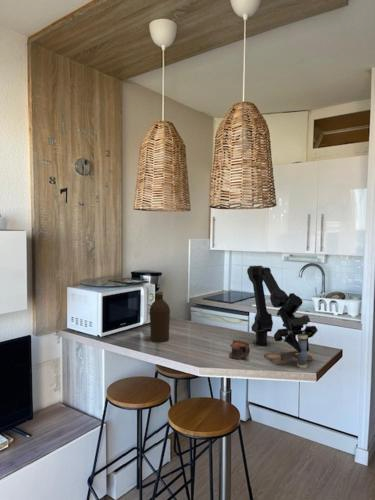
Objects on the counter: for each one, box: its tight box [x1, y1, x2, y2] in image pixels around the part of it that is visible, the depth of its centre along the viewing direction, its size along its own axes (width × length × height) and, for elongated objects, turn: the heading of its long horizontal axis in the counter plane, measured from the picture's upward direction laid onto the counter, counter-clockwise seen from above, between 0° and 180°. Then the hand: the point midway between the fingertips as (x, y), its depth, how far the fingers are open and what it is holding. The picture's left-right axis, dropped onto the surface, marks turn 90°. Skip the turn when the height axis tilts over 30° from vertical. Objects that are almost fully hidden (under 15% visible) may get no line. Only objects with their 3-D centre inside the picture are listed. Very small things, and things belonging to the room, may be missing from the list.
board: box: [263, 349, 313, 365], centre depth 162 cm, size 10×18×4 cm, turn 109°
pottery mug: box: [228, 339, 251, 361], centre depth 164 cm, size 12×9×8 cm
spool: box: [296, 334, 309, 369], centre depth 152 cm, size 4×4×13 cm
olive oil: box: [148, 291, 171, 343], centre depth 191 cm, size 11×11×25 cm
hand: (304, 351), depth 151 cm, fingers closed on spool, 3 cm apart
